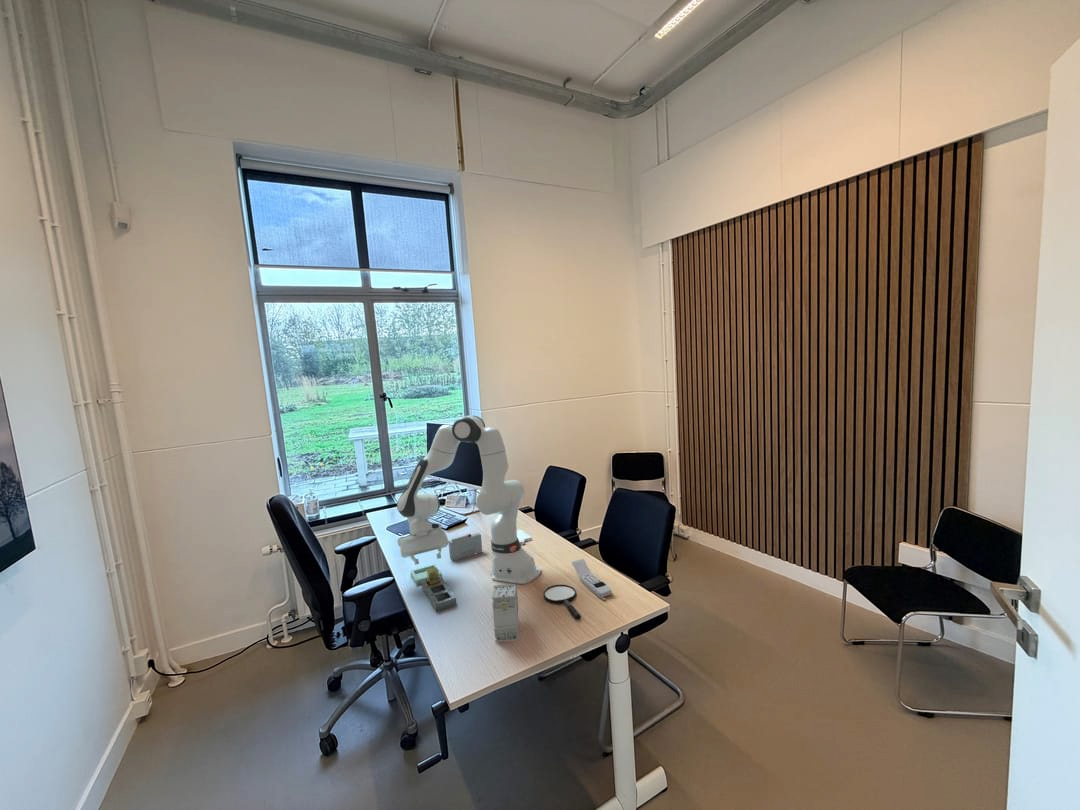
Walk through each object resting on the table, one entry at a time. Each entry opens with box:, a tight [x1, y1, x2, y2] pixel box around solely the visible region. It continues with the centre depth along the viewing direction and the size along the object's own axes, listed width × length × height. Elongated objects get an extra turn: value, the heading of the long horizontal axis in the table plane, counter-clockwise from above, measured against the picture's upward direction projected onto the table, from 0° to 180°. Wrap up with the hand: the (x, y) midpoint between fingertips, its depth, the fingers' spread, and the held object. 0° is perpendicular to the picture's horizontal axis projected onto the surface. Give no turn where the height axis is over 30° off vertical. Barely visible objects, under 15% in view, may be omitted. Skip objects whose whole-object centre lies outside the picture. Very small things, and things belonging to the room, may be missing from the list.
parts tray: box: [410, 563, 443, 586], centre depth 189 cm, size 11×11×2 cm
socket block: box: [421, 575, 458, 613], centre depth 172 cm, size 22×8×3 cm, turn 29°
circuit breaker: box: [491, 583, 520, 643], centre depth 147 cm, size 8×14×15 cm, turn 2°
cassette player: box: [448, 532, 483, 562], centre depth 208 cm, size 16×3×10 cm, turn 122°
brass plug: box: [426, 567, 440, 586], centre depth 178 cm, size 4×4×8 cm
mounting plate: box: [517, 529, 533, 546], centre depth 224 cm, size 18×13×2 cm
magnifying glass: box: [543, 584, 582, 621], centre depth 161 cm, size 12×24×2 cm, turn 19°
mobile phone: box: [571, 558, 613, 602], centre depth 172 cm, size 6×6×25 cm
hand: (428, 561), depth 182 cm, fingers open, 8 cm apart
